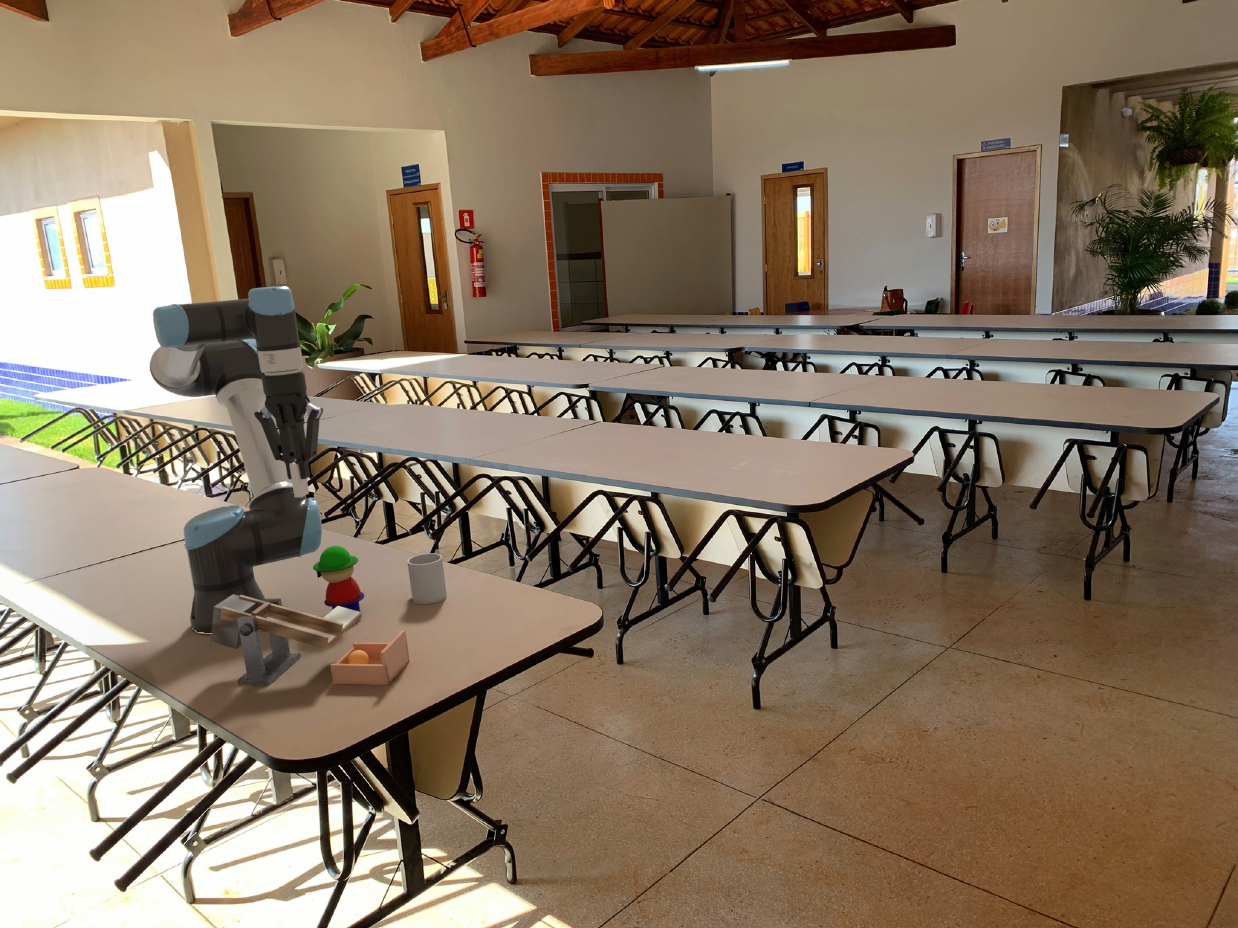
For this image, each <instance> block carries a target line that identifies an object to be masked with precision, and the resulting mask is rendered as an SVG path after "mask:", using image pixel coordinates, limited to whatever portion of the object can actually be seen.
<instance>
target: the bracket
mask: <svg viewBox="0 0 1238 928" xmlns="http://www.w3.org/2000/svg"><path fill="white" fill-rule="evenodd" d="M263 601H265V602H269V603H272V604H276V605H279V606H283V603H282V598H265V600H263ZM237 622H238V627H239V633H240V638H241V644H242V646H241V650H242V654H243V659H244V665H245V670H246V671H245V673H244V674H242V676H241V677H239V678H238V679H237V680H236V684H237V685H248V686H249V685H250V686H256V685H257V686H258V685H259V686H270V685H271V684H272V683H273V682H275V680H276V679H277V678H279V677H280V676H281V675H282V674H284V673H285V672H286V671H287V670H288V669H289V668H291V666H293V665H294V664H295V663H296V662H297V661H299V660H300V658H302V656H301V652H290V645H289V638H285V637H282V636H278V635H275V634H271V633H268V638H269V644H270V649H271V652H270V653H269V654H268V655H266V656H265V657H264V656H263V655H264V654H263V650H262V644H261V638H260V632H259V631H260V630H258V626H257V620H256V617H239V618H237Z"/></svg>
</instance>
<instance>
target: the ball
mask: <svg viewBox="0 0 1238 928" xmlns="http://www.w3.org/2000/svg"><path fill="white" fill-rule="evenodd" d="M368 661H369V658H368V655H367V654H366V653H365V652H364V651H362V650H356V651H354V652H352V653H351V654H350V656H349V658H348V664H368Z"/></svg>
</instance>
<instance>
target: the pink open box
mask: <svg viewBox="0 0 1238 928" xmlns="http://www.w3.org/2000/svg"><path fill="white" fill-rule="evenodd" d="M407 640H408V638H407V633H406V629H402V630H401V631H400V632H399V633H398V634H397V635H396V636H395V637H394V638H393V639H392V640H391V641H389V642H370V641H369V642H366V641H365V642H359V641H358V642H355V641H354V642H353V643H352V647H351V648H350V649H349V650H348V651H347V652H346V653H345V654H344V655H343V656H341V658H339V659H338V660H337V661H336V662H335V663H331V664H330V672H331V678H332V683H333V684H334V685H377V686H380V685H381V686H384V685H385V686H389V685H390V684H391V682H392V681H393V680H394V679H395V678H396V677H397V676H398V674H400V672H401V671H402V670H403V669H404V668H405V667H406V665H407V664H409V662H410V655H409V647H408V646H409V645H408V641H407ZM356 650H362V651H364V652H365V653H366V654H367V655H368V658H369V661H368V664H348V658H349V656H350V654H351V653H352V652H354V651H356Z"/></svg>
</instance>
